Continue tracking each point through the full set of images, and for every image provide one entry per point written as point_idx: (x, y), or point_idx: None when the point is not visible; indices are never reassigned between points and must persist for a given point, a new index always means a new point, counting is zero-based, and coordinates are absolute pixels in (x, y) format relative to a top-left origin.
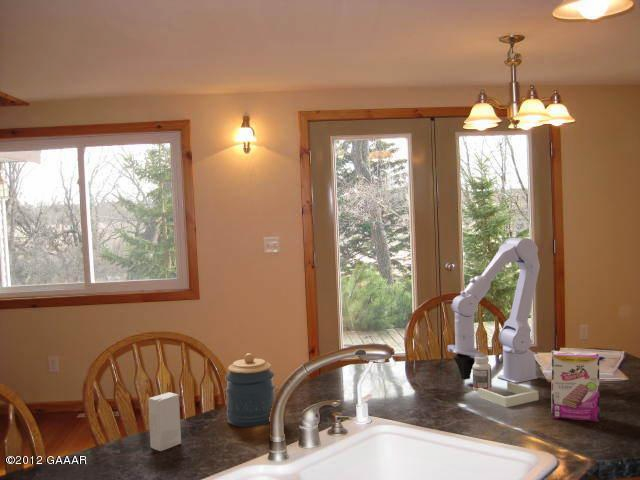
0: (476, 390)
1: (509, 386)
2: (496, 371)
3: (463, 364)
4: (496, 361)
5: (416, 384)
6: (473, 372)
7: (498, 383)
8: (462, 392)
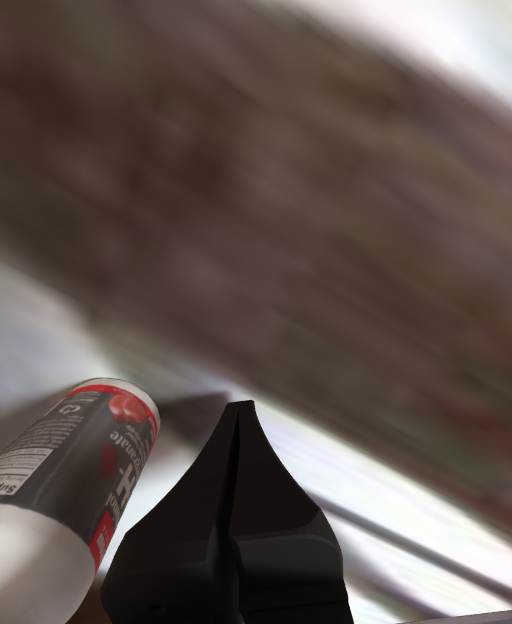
0: (92, 380)
1: None
2: None
3: (169, 494)
4: None
5: (379, 107)
6: (31, 464)
7: None
8: (90, 301)
